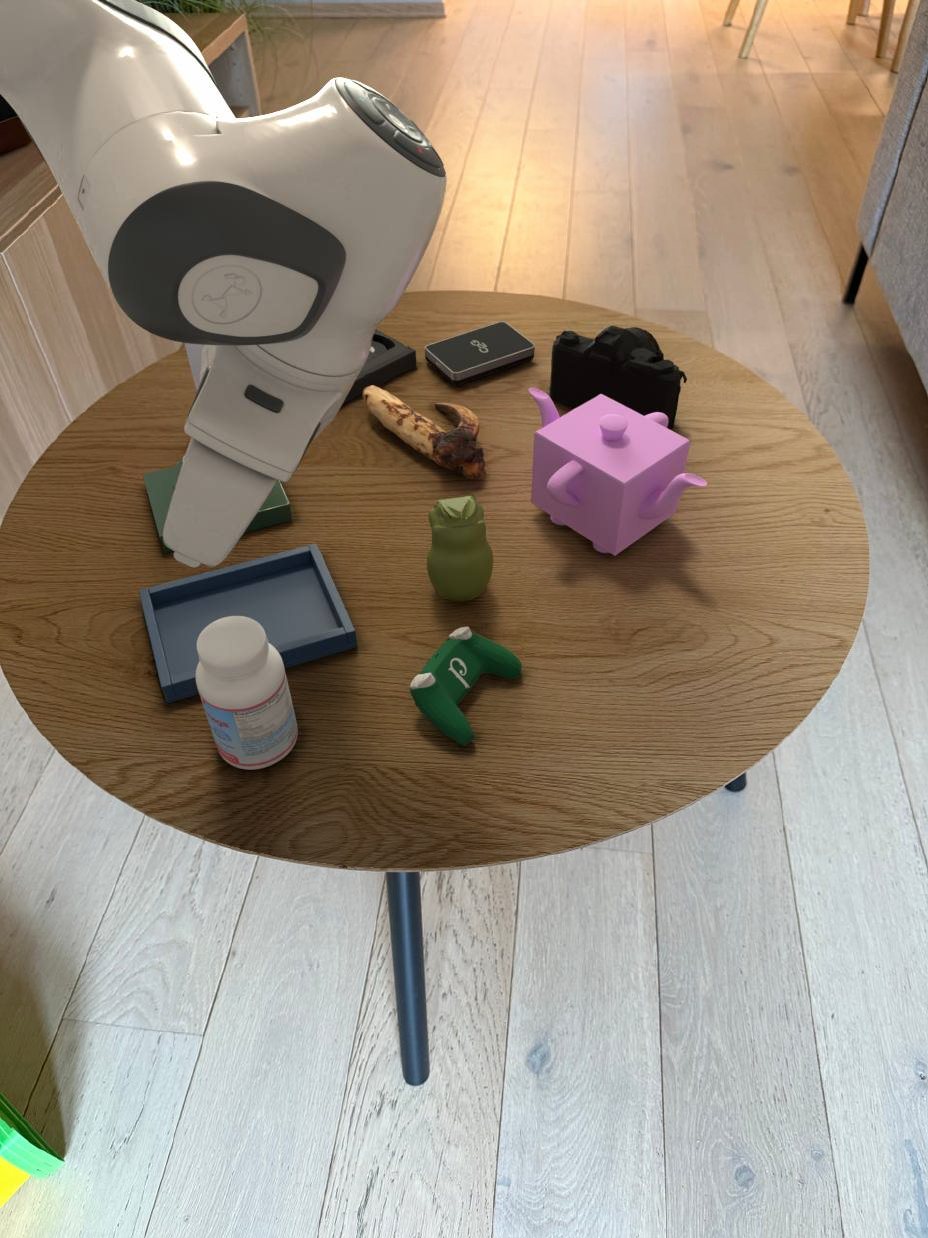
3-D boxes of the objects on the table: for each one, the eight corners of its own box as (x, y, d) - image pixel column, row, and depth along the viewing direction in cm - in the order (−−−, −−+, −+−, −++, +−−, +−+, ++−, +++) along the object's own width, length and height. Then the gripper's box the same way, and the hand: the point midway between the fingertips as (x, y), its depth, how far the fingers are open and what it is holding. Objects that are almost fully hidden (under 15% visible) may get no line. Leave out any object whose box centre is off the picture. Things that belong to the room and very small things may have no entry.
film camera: (702, 399, 102) (717, 323, 96) (663, 444, 97) (676, 366, 90) (579, 359, 108) (585, 285, 102) (535, 399, 103) (539, 323, 96)
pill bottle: (208, 724, 72) (174, 623, 64) (285, 698, 74) (261, 596, 66) (229, 785, 68) (196, 685, 60) (309, 755, 70) (287, 655, 62)
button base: (164, 553, 86) (153, 519, 83) (147, 490, 92) (136, 456, 90) (292, 520, 89) (286, 486, 86) (267, 461, 96) (260, 428, 93)
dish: (167, 703, 74) (161, 687, 72) (144, 606, 81) (138, 589, 80) (357, 647, 78) (355, 630, 76) (319, 559, 85) (316, 542, 84)
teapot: (515, 561, 85) (520, 462, 77) (524, 470, 94) (529, 374, 86) (688, 572, 84) (710, 473, 76) (680, 479, 93) (698, 382, 85)
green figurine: (433, 617, 80) (429, 527, 73) (423, 575, 84) (418, 485, 76) (498, 608, 81) (499, 518, 73) (485, 566, 84) (485, 476, 77)
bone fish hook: (526, 462, 96) (413, 387, 105) (530, 423, 92) (413, 348, 101) (457, 499, 91) (345, 417, 100) (458, 459, 88) (342, 378, 97)
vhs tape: (371, 340, 112) (370, 325, 110) (416, 366, 108) (415, 350, 106) (273, 388, 105) (271, 372, 103) (318, 416, 101) (315, 400, 99)
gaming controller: (500, 675, 78) (455, 621, 76) (530, 666, 75) (484, 609, 73) (442, 754, 72) (391, 697, 71) (471, 747, 69) (419, 688, 68)
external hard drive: (536, 361, 108) (537, 346, 107) (453, 390, 104) (453, 374, 103) (503, 335, 112) (503, 320, 111) (422, 362, 108) (421, 346, 107)
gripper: (273, 263, 64) (207, 413, 73) (180, 428, 49) (112, 591, 58) (356, 310, 66) (283, 450, 75) (291, 483, 51) (209, 632, 60)
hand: (207, 513), depth 66 cm, fingers open, 8 cm apart
